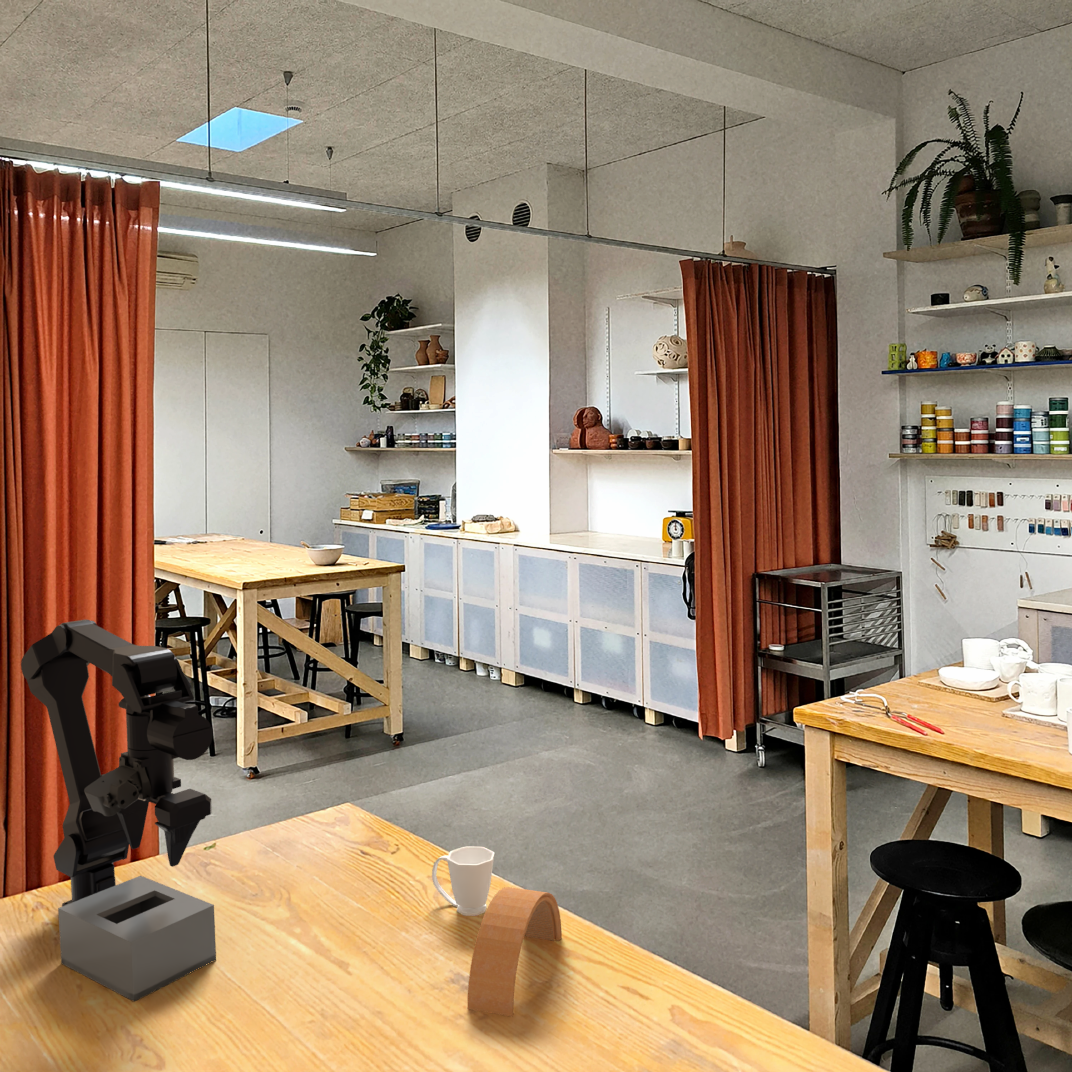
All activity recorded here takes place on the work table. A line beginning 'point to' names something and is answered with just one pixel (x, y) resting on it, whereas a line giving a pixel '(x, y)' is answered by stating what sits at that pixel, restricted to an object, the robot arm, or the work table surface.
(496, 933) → the arch
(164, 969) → the box
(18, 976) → the work table surface
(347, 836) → the work table surface
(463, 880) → the cup
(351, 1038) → the work table surface
